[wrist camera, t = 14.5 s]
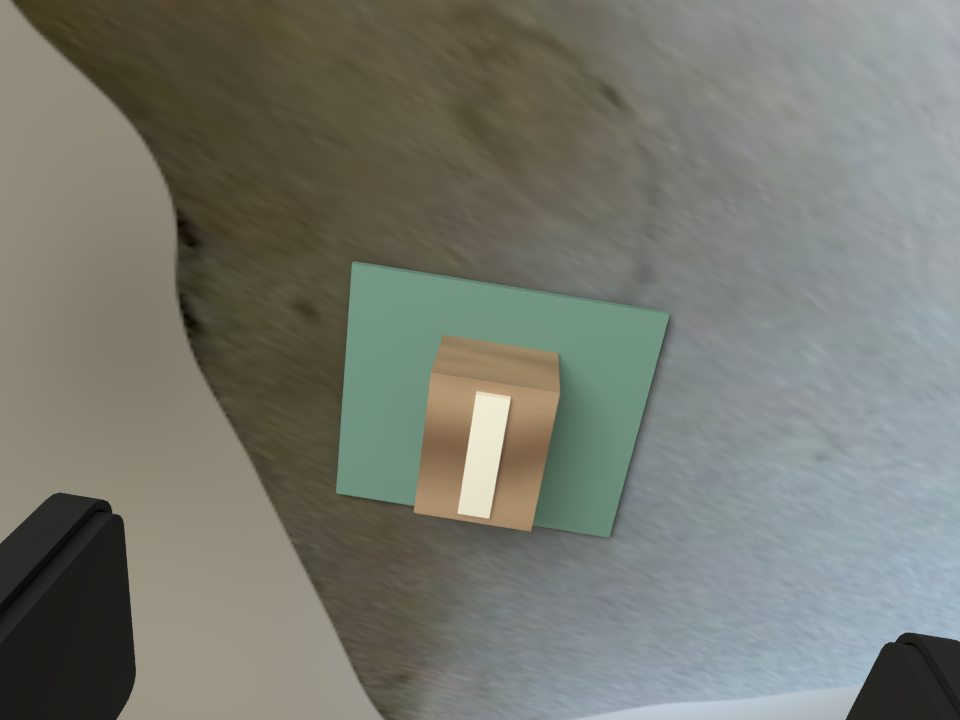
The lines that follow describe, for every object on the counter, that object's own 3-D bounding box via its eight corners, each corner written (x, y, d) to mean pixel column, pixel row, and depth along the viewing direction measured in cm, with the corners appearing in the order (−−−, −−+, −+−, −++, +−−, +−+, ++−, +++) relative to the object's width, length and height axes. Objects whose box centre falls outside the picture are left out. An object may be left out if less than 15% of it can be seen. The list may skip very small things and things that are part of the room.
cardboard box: (532, 481, 41) (530, 535, 37) (426, 464, 41) (412, 516, 37) (558, 352, 38) (560, 395, 33) (442, 334, 38) (430, 375, 33)
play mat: (668, 311, 37) (669, 314, 36) (608, 533, 43) (609, 537, 42) (354, 261, 37) (352, 263, 37) (337, 489, 43) (336, 493, 43)
